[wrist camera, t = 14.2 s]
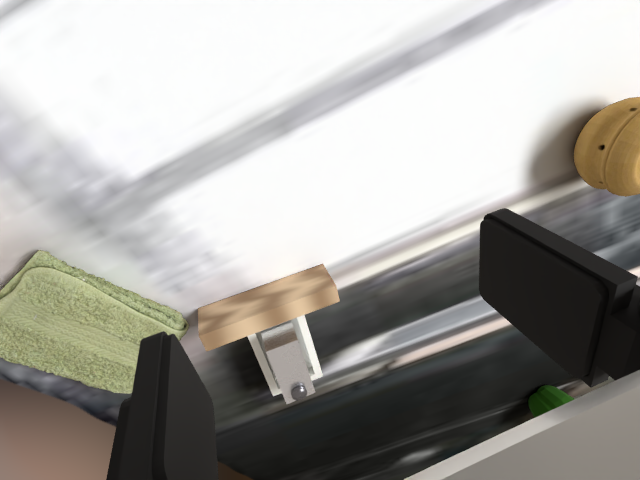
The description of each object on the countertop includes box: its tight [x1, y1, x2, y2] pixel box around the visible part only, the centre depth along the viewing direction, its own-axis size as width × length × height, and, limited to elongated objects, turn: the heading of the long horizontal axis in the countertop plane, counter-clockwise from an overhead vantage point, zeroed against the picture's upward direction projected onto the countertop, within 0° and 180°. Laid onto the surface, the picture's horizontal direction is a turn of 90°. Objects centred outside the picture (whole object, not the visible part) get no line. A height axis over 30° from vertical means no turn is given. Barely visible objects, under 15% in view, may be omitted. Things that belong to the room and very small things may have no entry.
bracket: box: [248, 315, 323, 396], centre depth 51 cm, size 8×13×2 cm, turn 12°
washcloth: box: [0, 250, 189, 394], centre depth 41 cm, size 13×18×3 cm
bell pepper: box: [528, 385, 574, 418], centre depth 74 cm, size 8×8×10 cm
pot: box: [574, 97, 640, 196], centre depth 47 cm, size 12×12×10 cm
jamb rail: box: [198, 264, 340, 351], centre depth 44 cm, size 16×2×5 cm, turn 102°
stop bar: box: [261, 320, 315, 404], centre depth 49 cm, size 4×10×6 cm, turn 12°
